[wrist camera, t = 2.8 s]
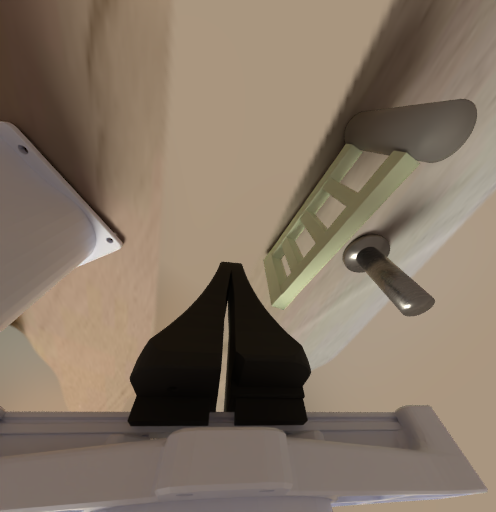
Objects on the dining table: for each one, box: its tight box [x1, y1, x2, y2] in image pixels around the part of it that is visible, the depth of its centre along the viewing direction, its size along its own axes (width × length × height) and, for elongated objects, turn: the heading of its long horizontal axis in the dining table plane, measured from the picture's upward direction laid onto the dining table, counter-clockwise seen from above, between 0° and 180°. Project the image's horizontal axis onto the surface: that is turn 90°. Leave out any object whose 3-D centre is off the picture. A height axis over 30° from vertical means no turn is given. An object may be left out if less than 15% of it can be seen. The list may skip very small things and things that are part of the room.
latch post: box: [343, 234, 435, 316], centre depth 15 cm, size 4×4×6 cm
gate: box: [263, 99, 477, 310], centre depth 12 cm, size 12×2×6 cm, turn 152°
